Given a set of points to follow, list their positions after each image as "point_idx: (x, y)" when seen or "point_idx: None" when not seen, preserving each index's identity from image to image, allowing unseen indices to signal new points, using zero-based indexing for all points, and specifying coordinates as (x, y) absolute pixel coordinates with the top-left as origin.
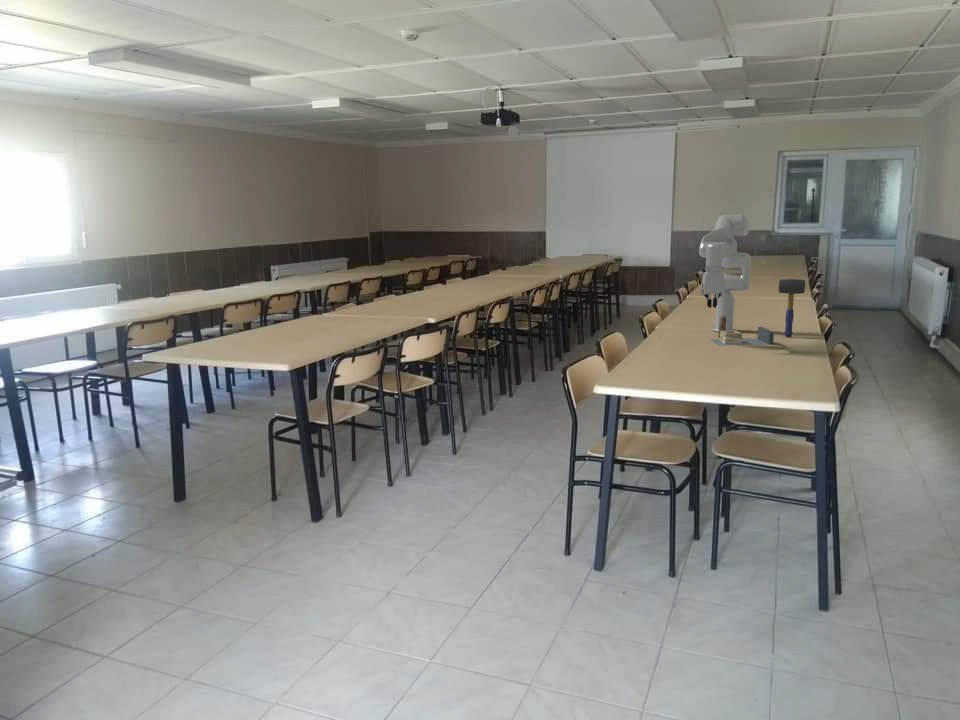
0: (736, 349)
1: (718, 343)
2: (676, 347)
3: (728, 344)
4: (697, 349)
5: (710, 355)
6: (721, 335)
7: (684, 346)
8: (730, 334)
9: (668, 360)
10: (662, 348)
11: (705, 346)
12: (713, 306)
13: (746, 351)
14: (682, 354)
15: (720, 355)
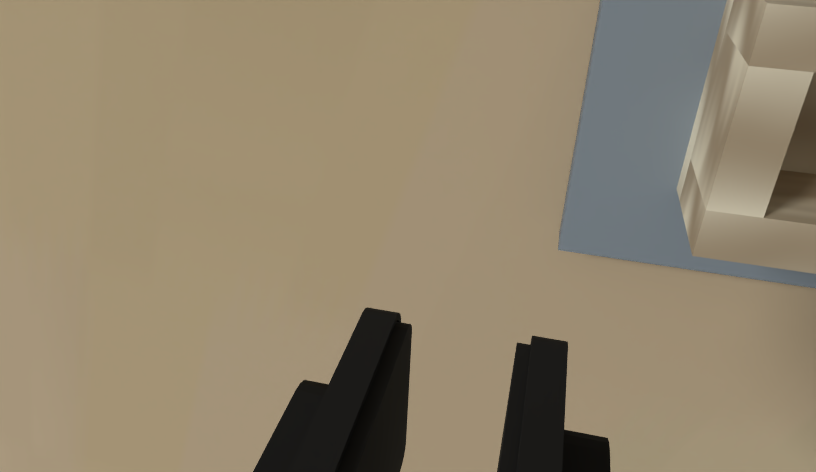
0: (716, 314)
1: (607, 150)
2: (143, 84)
3: None
4: (326, 221)
5: None
6: (731, 63)
7: (231, 49)
8: (767, 260)
9: (59, 466)
10: (11, 102)
11: (460, 99)
12: (506, 411)
13: (753, 409)
14: (162, 355)
15: (437, 458)
